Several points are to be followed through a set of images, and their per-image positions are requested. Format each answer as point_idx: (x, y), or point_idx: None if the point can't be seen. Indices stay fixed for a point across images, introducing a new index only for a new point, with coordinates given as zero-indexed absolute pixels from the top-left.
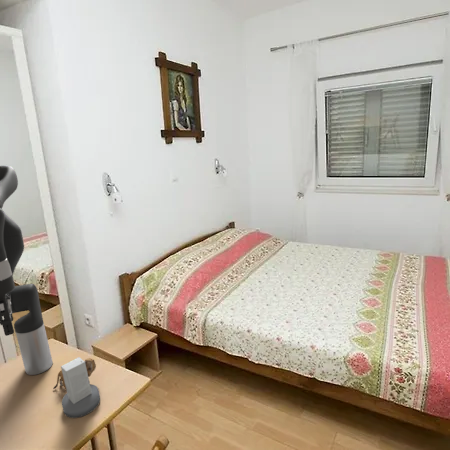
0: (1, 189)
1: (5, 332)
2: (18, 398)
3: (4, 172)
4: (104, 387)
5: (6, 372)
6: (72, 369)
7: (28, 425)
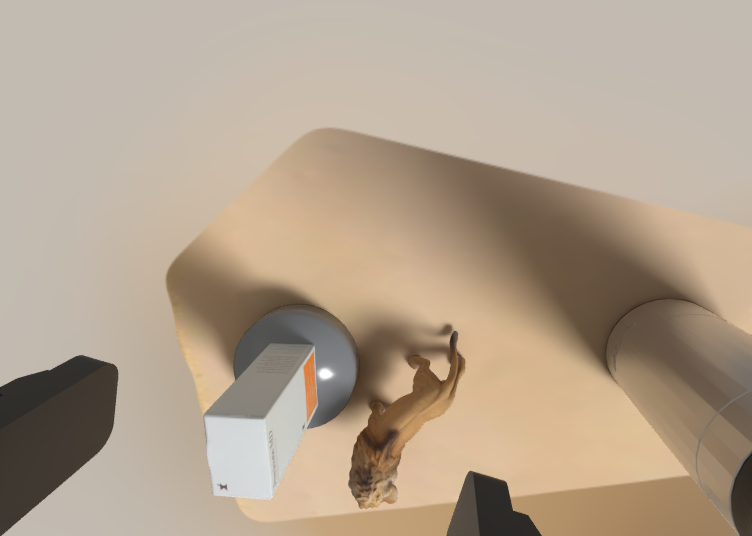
0: None
1: (52, 381)
2: (524, 224)
3: None
4: (321, 438)
5: None
6: (207, 437)
7: (344, 205)
